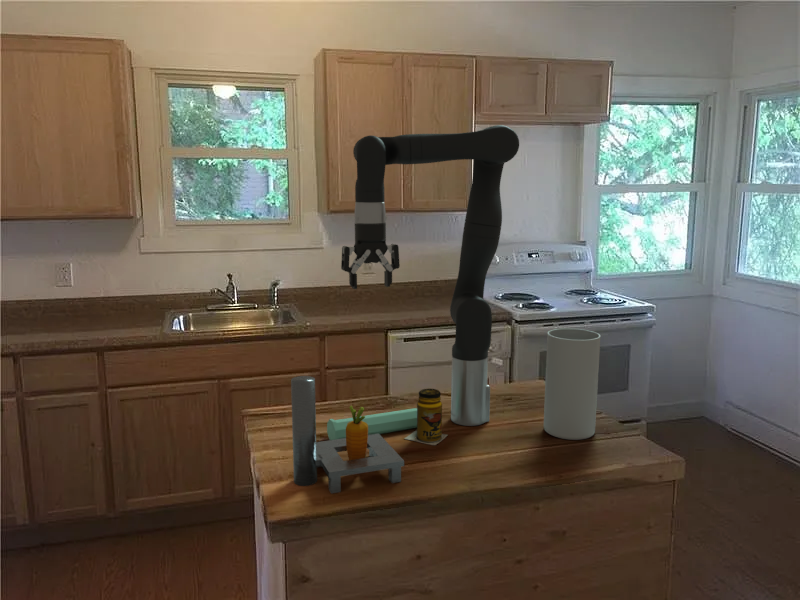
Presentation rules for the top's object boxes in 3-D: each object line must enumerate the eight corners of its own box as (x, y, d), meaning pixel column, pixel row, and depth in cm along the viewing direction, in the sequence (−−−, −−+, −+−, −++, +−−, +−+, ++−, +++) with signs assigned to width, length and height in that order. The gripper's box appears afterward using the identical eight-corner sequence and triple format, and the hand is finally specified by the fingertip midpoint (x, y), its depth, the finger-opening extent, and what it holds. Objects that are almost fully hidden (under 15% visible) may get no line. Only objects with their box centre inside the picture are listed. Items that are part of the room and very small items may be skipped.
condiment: (435, 446, 157) (436, 397, 155) (403, 439, 161) (404, 391, 159) (448, 435, 163) (449, 389, 161) (417, 429, 167) (418, 383, 165)
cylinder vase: (553, 419, 174) (557, 326, 170) (600, 428, 168) (606, 332, 164) (536, 434, 164) (540, 336, 160) (586, 444, 158) (592, 342, 153)
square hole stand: (378, 453, 152) (378, 360, 149) (404, 482, 138) (404, 380, 134) (286, 467, 145) (283, 370, 141) (302, 499, 130) (299, 392, 126)
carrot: (342, 469, 144) (342, 403, 141) (364, 466, 146) (364, 400, 143) (348, 479, 139) (349, 411, 136) (371, 475, 141) (372, 408, 138)
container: (420, 400, 171) (328, 413, 160) (430, 415, 166) (336, 430, 155) (415, 418, 174) (325, 432, 163) (425, 433, 169) (333, 449, 158)
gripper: (392, 219, 166) (392, 283, 169) (337, 221, 161) (338, 287, 164) (403, 221, 159) (403, 288, 162) (346, 222, 154) (347, 291, 157)
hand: (370, 287), depth 163 cm, fingers open, 8 cm apart
